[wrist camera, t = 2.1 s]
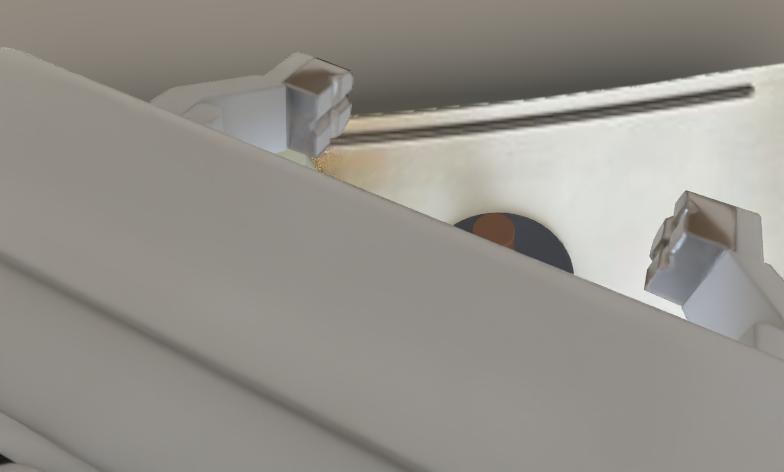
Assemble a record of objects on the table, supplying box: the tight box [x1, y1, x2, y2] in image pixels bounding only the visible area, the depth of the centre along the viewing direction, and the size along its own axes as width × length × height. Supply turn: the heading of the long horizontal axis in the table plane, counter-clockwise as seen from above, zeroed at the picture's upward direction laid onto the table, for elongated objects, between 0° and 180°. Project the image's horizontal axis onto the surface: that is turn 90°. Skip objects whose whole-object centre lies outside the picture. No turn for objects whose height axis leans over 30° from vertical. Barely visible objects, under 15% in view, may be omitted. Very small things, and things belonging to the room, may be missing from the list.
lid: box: [453, 213, 574, 275], centre depth 38 cm, size 11×11×7 cm
